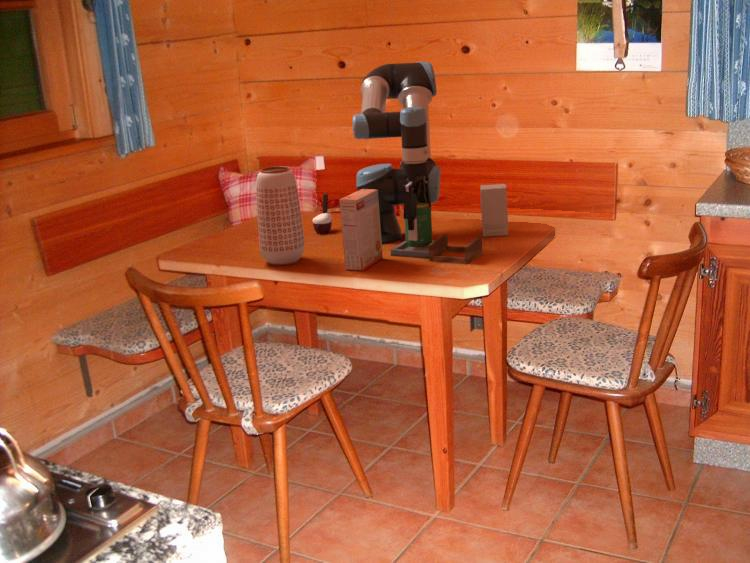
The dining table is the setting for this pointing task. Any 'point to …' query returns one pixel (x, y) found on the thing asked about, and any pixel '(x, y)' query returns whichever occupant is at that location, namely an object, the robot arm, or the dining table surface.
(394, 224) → the robot arm
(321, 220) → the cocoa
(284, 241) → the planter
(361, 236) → the cracker box
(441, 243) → the caddy
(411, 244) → the beverage can
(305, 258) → the dining table surface
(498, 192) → the skincare box
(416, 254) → the tray
